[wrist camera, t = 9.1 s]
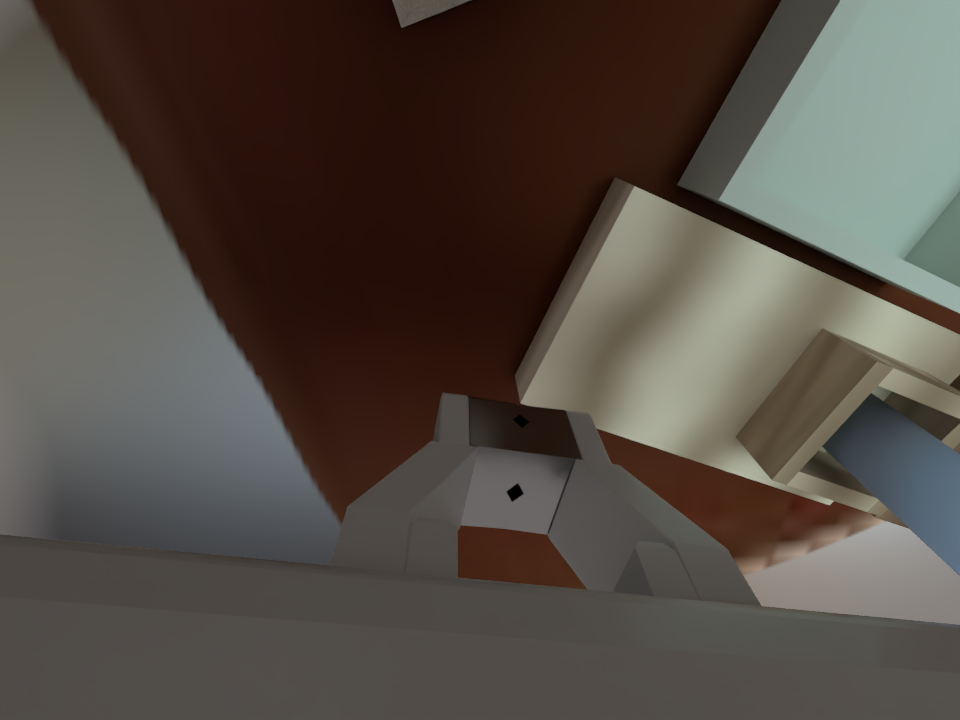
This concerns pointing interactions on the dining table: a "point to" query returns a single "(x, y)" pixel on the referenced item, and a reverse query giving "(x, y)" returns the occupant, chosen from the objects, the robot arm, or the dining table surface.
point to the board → (730, 350)
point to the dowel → (904, 472)
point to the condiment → (421, 9)
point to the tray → (849, 138)
